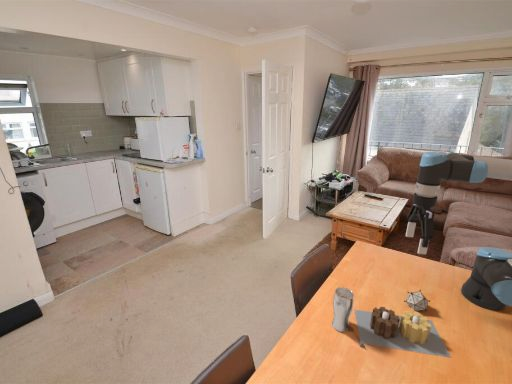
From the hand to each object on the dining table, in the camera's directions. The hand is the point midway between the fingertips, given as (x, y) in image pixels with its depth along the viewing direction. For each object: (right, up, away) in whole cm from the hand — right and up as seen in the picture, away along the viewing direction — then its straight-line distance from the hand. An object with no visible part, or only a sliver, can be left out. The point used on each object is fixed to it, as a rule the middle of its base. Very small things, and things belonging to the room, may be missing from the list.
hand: (415, 244), depth 105 cm
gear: (-7, -30, -10) cm, 32 cm away
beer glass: (-31, -30, -5) cm, 44 cm away
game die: (+2, -27, +3) cm, 28 cm away
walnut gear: (-17, -29, -8) cm, 35 cm away
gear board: (-12, -31, -9) cm, 34 cm away
